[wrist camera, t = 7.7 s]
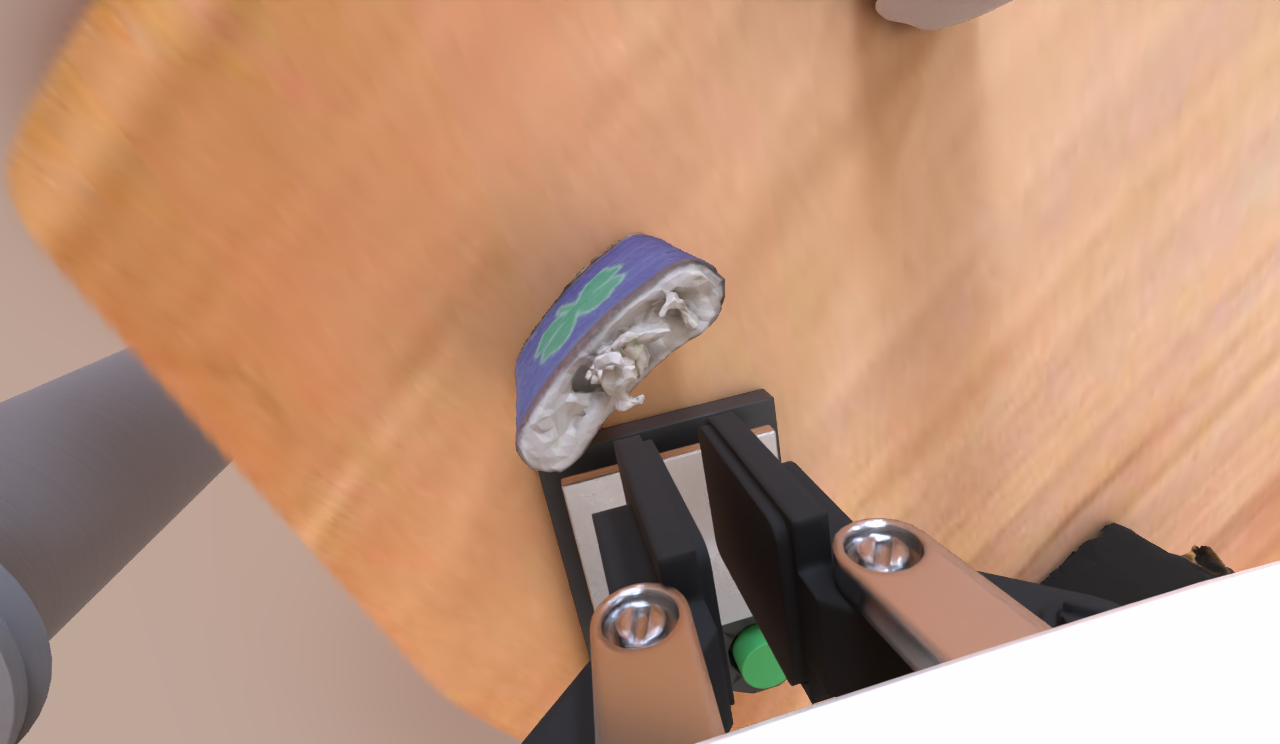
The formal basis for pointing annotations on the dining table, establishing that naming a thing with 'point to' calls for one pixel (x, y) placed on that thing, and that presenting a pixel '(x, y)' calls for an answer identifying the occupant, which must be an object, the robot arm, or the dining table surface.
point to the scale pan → (607, 493)
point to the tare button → (756, 659)
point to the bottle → (934, 11)
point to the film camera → (1132, 568)
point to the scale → (666, 436)
